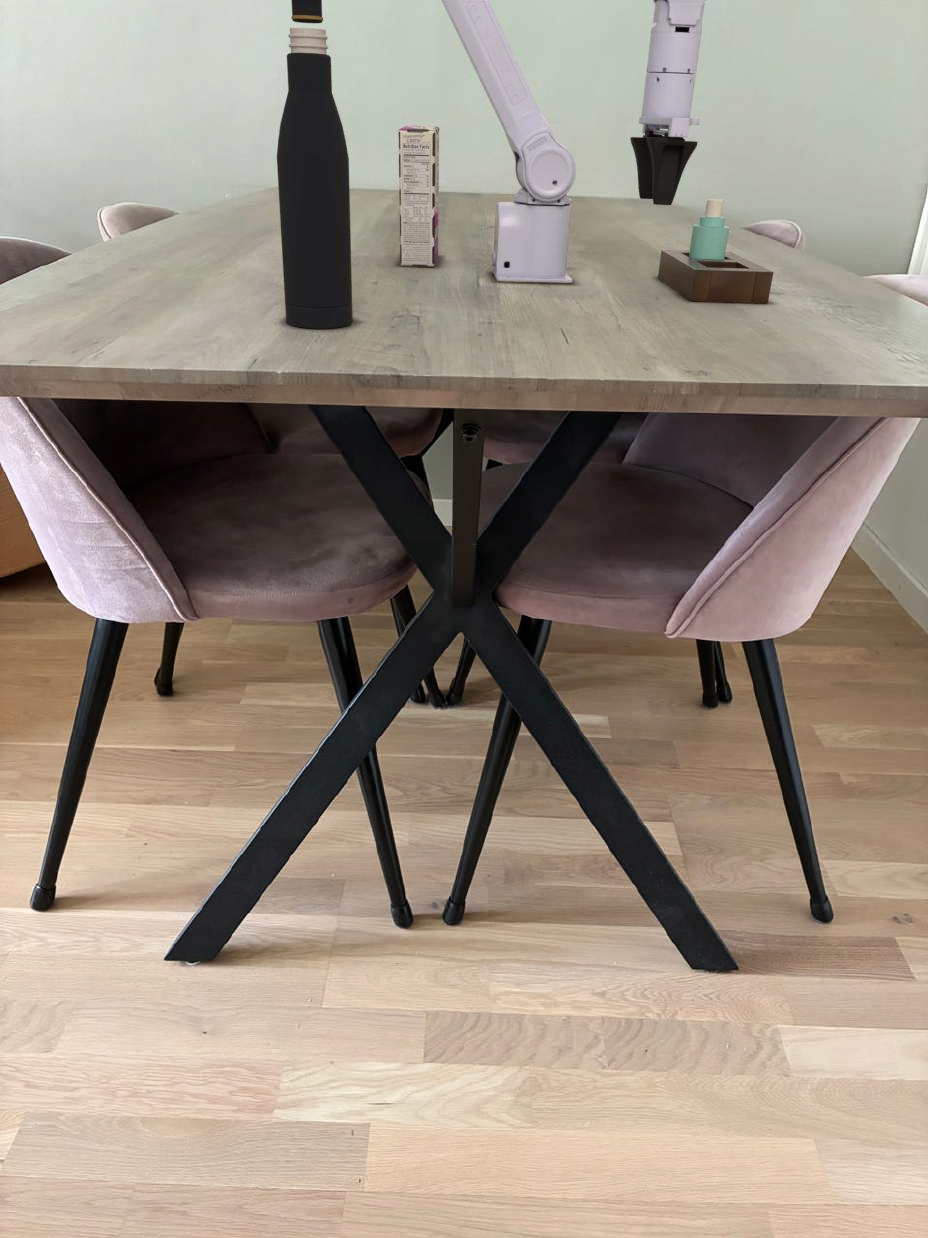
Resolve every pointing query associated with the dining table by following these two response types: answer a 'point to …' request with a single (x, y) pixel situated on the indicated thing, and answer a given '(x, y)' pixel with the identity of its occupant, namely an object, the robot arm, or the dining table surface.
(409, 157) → the candy bar box
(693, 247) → the small bottle
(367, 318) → the dining table surface
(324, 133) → the black bottle
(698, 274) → the peg block
